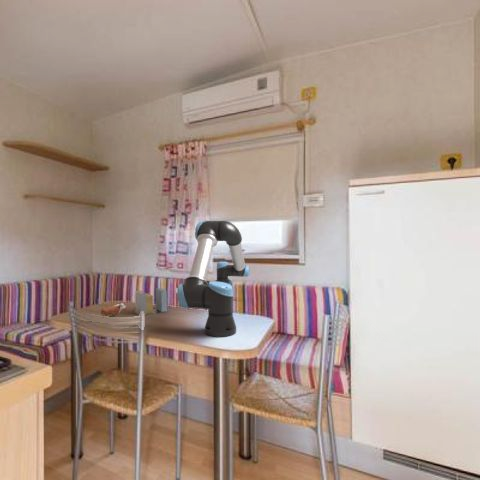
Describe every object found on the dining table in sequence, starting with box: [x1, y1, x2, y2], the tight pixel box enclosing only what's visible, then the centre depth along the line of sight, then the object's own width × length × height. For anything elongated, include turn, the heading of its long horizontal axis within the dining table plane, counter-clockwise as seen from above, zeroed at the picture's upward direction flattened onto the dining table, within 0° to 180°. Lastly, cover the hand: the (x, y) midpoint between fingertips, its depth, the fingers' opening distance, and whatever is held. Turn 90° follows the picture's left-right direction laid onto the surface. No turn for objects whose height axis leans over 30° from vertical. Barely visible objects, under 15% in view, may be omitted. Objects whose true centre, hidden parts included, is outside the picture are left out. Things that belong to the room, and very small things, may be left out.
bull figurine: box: [100, 302, 126, 317], centre depth 159 cm, size 4×13×8 cm, turn 138°
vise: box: [134, 290, 170, 316], centre depth 171 cm, size 17×11×13 cm, turn 125°
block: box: [146, 293, 154, 315], centre depth 170 cm, size 4×8×10 cm, turn 35°
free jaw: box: [155, 287, 168, 313], centre depth 174 cm, size 3×10×12 cm, turn 35°
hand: (175, 290), depth 180 cm, fingers closed
